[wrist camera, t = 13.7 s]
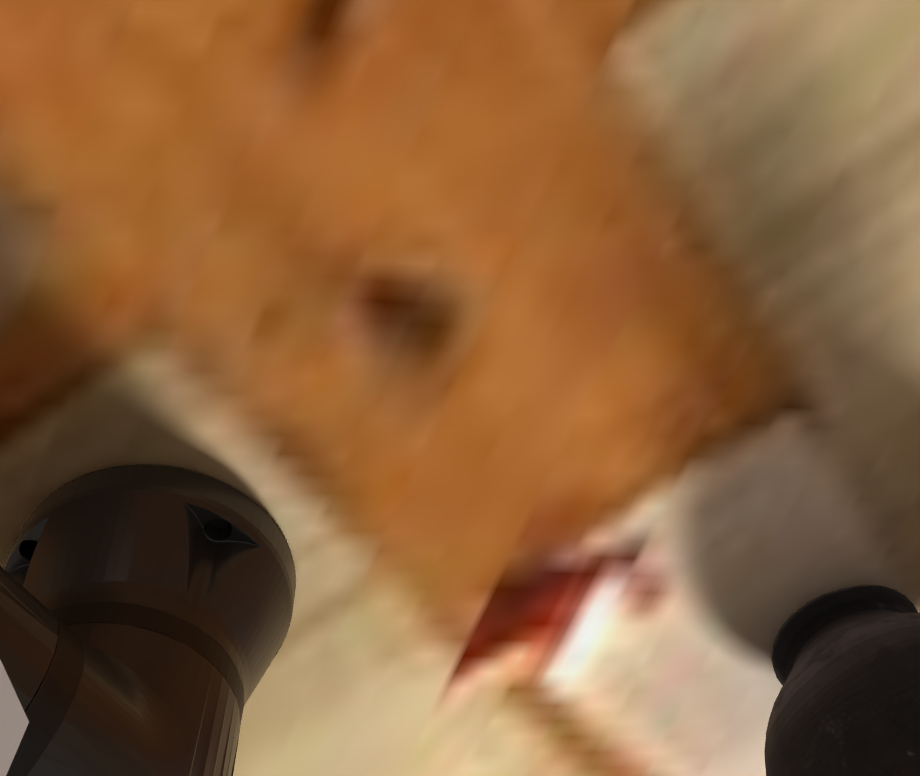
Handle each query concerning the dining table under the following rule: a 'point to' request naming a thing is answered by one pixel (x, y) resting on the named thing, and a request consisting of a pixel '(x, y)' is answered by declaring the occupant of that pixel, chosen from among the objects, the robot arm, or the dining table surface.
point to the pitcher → (847, 687)
